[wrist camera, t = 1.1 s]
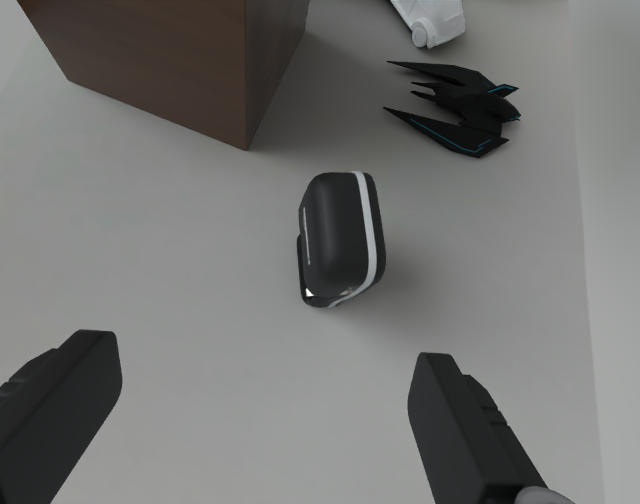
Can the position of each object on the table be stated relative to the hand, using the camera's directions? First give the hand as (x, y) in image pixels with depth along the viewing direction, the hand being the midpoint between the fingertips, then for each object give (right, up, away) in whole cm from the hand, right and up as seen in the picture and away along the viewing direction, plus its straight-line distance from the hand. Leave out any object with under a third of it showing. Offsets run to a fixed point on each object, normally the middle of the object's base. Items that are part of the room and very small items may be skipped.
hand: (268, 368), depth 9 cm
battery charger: (+1, +2, +20) cm, 20 cm away
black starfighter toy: (+15, +18, +28) cm, 37 cm away
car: (+12, +31, +31) cm, 45 cm away
